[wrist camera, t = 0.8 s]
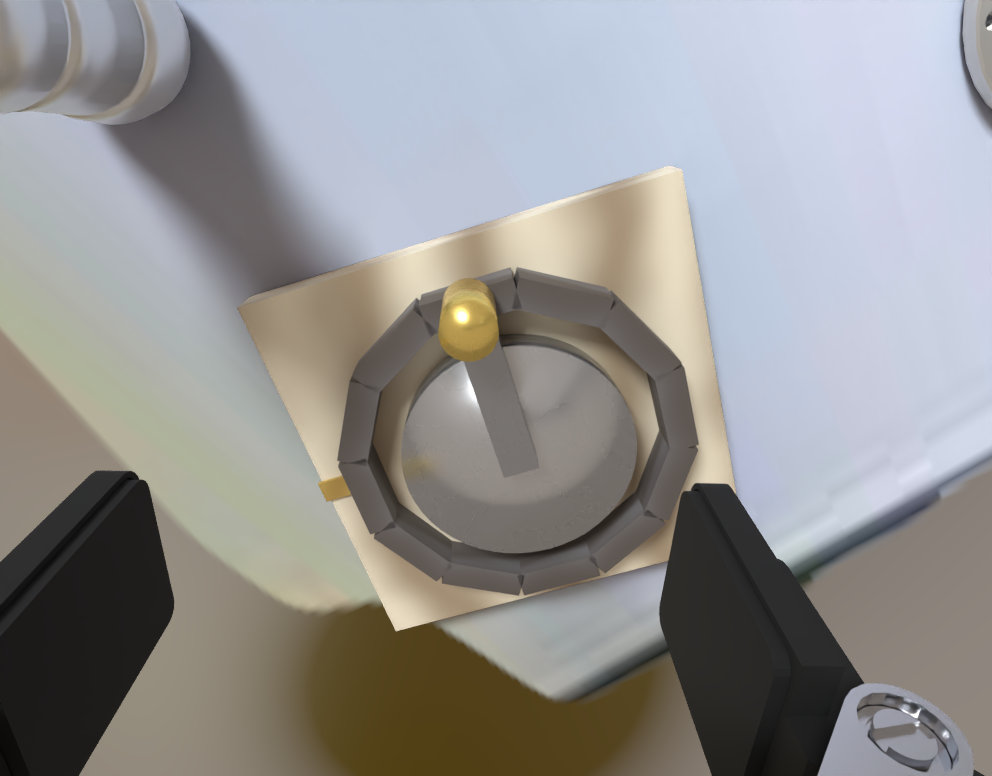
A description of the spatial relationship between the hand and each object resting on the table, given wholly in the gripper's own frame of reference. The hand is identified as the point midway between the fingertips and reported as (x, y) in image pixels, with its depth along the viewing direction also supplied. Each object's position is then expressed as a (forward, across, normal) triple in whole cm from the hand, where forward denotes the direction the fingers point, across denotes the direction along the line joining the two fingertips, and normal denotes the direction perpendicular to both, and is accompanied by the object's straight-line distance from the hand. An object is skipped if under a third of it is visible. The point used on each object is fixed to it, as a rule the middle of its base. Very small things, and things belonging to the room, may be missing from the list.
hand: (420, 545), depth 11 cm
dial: (+21, -3, +8) cm, 22 cm away
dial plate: (+23, -3, +9) cm, 25 cm away
